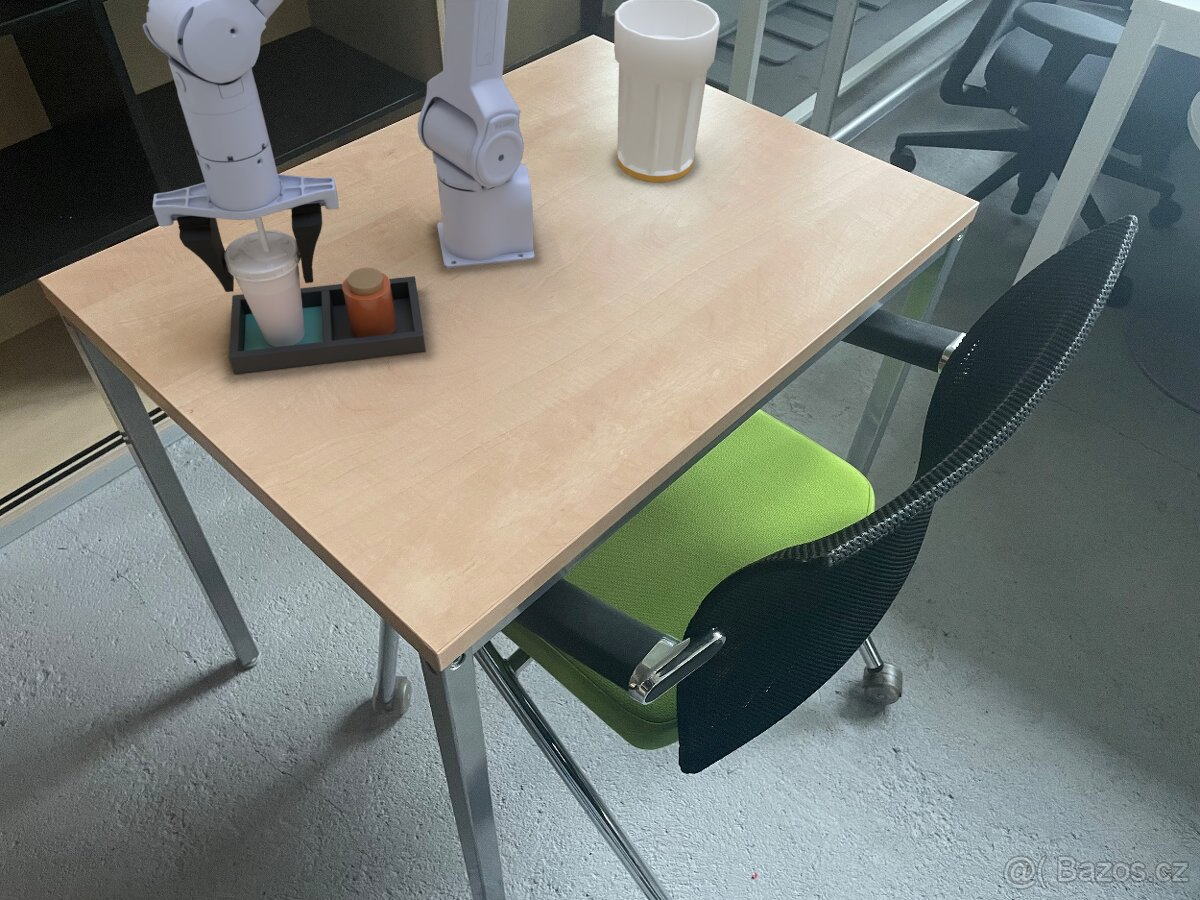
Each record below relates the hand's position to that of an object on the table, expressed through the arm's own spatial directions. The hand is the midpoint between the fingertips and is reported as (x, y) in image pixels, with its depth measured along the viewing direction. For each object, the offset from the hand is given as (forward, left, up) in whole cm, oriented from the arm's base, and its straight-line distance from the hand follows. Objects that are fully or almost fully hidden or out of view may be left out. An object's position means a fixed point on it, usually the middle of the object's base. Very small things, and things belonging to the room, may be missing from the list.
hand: (269, 280), depth 86 cm
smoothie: (0, 0, -7) cm, 7 cm away
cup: (-43, -25, -7) cm, 50 cm away
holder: (-4, 0, -7) cm, 8 cm away
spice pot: (-8, 0, -7) cm, 11 cm away
